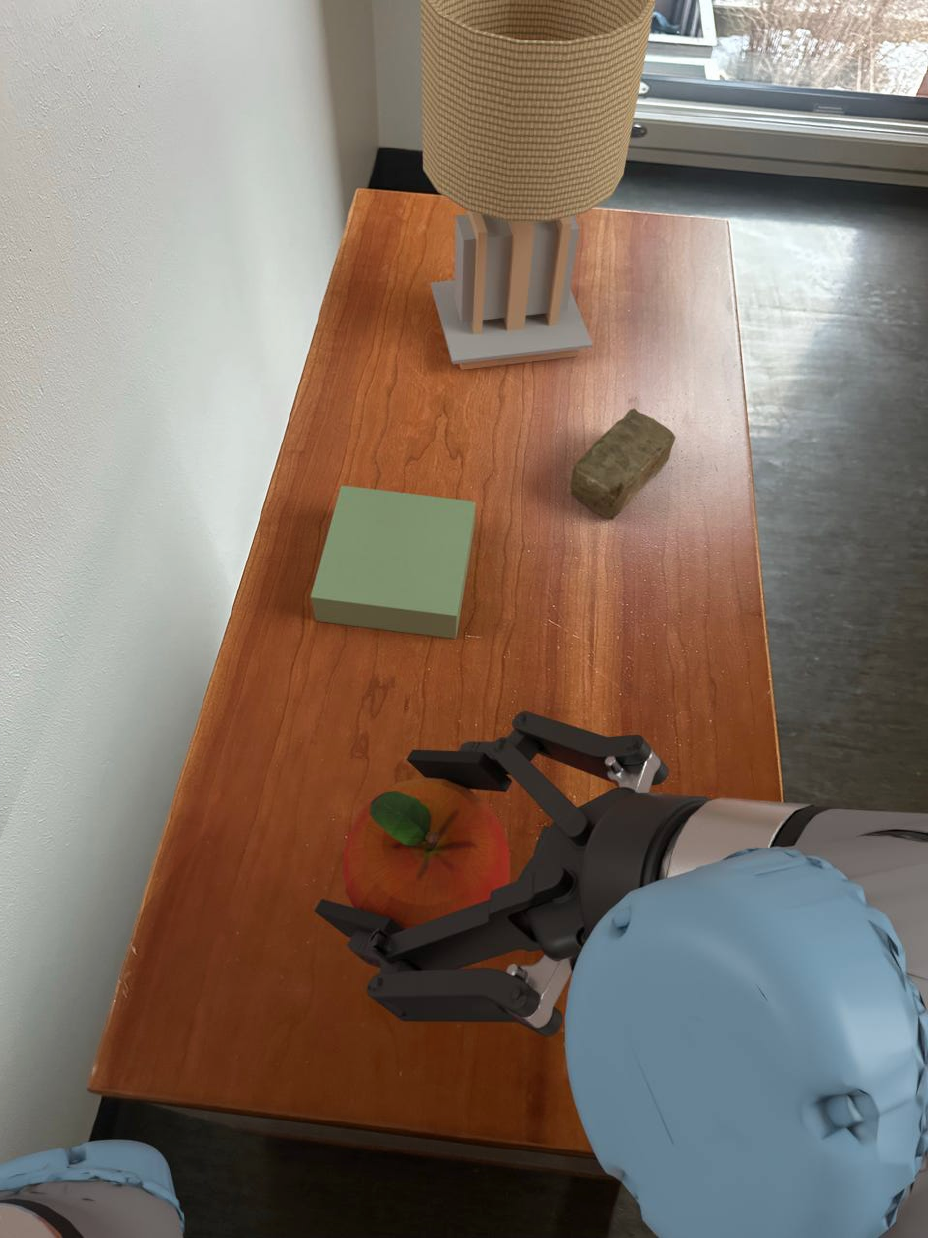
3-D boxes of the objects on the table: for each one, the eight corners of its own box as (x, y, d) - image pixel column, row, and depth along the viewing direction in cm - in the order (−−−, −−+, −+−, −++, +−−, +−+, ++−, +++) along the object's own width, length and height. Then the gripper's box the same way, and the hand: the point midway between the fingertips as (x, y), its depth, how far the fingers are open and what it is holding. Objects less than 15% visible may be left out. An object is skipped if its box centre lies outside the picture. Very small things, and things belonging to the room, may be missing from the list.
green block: (456, 639, 81) (457, 616, 78) (315, 621, 82) (310, 597, 78) (474, 527, 88) (476, 501, 85) (344, 511, 89) (341, 484, 85)
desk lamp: (440, 398, 97) (442, 52, 67) (411, 284, 107) (401, -61, 78) (613, 378, 100) (688, 34, 70) (568, 268, 110) (617, -73, 80)
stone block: (563, 498, 90) (569, 465, 86) (624, 435, 95) (633, 400, 91) (611, 527, 88) (620, 494, 84) (671, 461, 93) (682, 427, 89)
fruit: (453, 999, 51) (457, 962, 43) (318, 909, 53) (296, 857, 45) (534, 859, 55) (552, 800, 47) (406, 782, 58) (401, 713, 50)
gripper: (658, 1233, 31) (321, 1054, 48) (827, 728, 42) (502, 727, 59) (537, 1145, 28) (220, 986, 45) (754, 621, 39) (432, 653, 56)
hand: (380, 839), depth 52 cm, fingers closed on fruit, 9 cm apart
